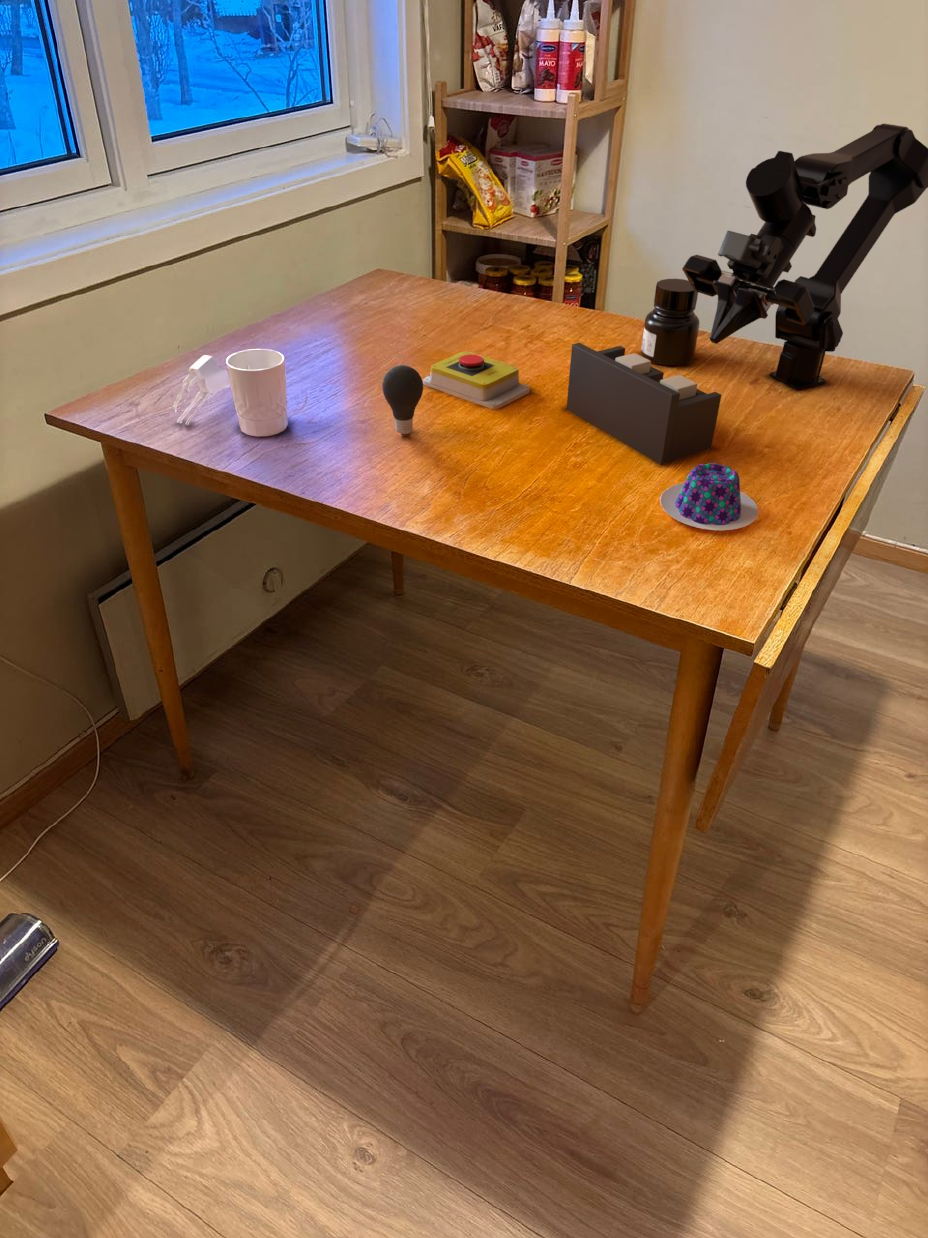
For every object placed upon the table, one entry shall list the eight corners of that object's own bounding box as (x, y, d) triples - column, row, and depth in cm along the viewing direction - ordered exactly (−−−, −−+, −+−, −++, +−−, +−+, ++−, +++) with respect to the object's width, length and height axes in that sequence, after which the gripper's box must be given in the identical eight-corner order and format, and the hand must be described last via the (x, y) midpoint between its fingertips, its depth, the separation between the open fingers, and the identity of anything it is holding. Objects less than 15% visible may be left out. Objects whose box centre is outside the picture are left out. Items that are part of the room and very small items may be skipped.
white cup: (301, 419, 134) (294, 353, 128) (275, 442, 128) (267, 373, 122) (253, 411, 136) (244, 345, 130) (225, 433, 130) (214, 365, 124)
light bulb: (394, 446, 128) (391, 377, 122) (378, 430, 132) (374, 362, 125) (430, 438, 130) (429, 370, 124) (413, 422, 134) (412, 355, 128)
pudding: (771, 534, 111) (780, 495, 107) (673, 537, 110) (680, 498, 107) (739, 485, 120) (747, 448, 117) (649, 487, 119) (654, 451, 116)
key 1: (632, 365, 135) (634, 352, 134) (649, 373, 133) (651, 360, 132) (613, 370, 134) (615, 357, 133) (630, 378, 132) (632, 365, 130)
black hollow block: (614, 395, 142) (621, 332, 136) (711, 448, 128) (724, 380, 122) (566, 409, 138) (571, 344, 132) (661, 465, 124) (672, 395, 118)
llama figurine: (205, 457, 137) (262, 373, 145) (174, 403, 127) (237, 316, 135) (195, 455, 137) (252, 371, 145) (163, 400, 128) (226, 314, 136)
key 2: (677, 387, 129) (679, 374, 128) (695, 396, 127) (697, 383, 126) (658, 393, 128) (660, 379, 126) (676, 402, 125) (678, 388, 124)
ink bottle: (647, 343, 160) (656, 273, 153) (698, 351, 158) (710, 279, 150) (634, 363, 153) (644, 290, 146) (687, 371, 150) (700, 297, 143)
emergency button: (458, 340, 148) (533, 364, 140) (458, 366, 151) (532, 391, 143) (419, 356, 142) (496, 382, 135) (420, 383, 145) (495, 410, 137)
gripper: (701, 192, 125) (638, 291, 126) (823, 220, 114) (753, 329, 115) (726, 242, 134) (667, 334, 135) (841, 273, 123) (776, 373, 124)
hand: (712, 341), depth 127 cm, fingers closed
